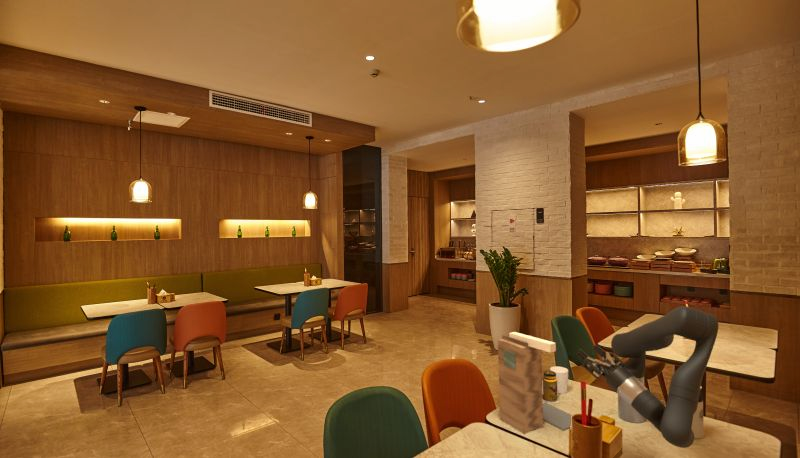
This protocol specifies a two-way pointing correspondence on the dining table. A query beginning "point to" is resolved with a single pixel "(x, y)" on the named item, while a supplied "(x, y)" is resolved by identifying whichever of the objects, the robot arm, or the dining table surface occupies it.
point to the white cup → (561, 379)
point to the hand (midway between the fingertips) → (586, 348)
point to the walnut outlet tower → (520, 384)
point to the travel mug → (698, 419)
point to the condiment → (550, 387)
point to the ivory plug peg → (535, 342)
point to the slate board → (556, 417)
